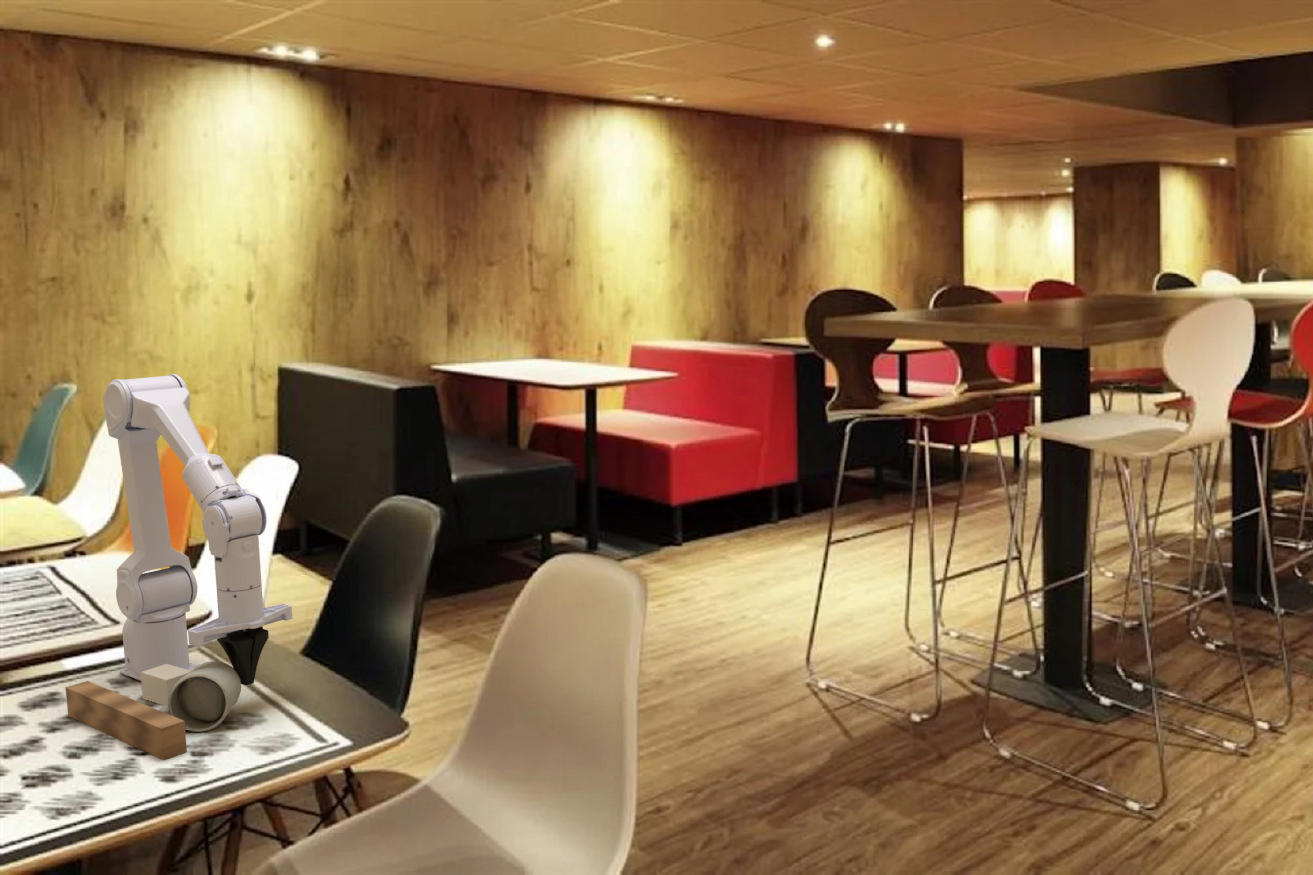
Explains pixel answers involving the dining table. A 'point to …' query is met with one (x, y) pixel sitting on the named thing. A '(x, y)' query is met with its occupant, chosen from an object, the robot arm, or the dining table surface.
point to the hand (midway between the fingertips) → (245, 682)
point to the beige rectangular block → (160, 682)
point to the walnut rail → (127, 719)
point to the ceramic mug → (204, 696)
